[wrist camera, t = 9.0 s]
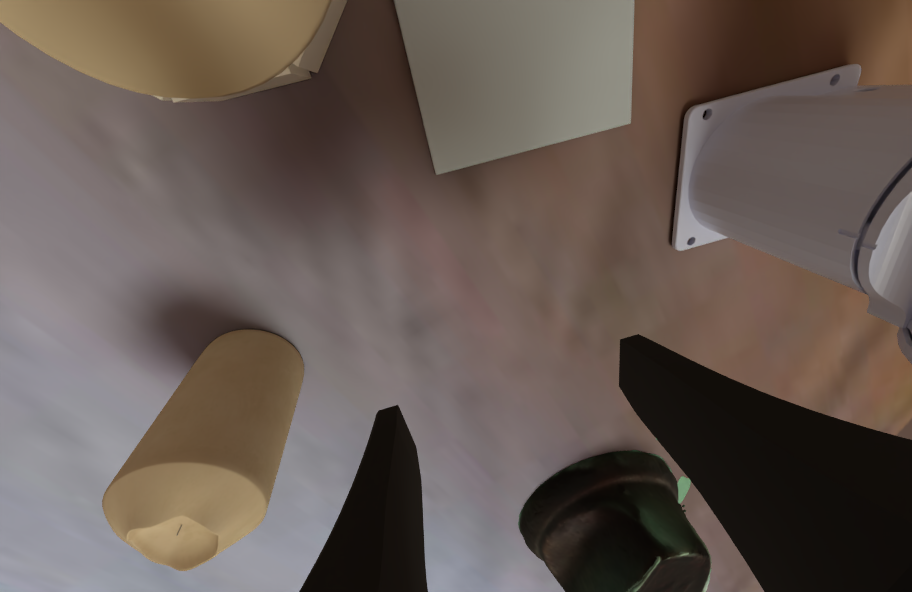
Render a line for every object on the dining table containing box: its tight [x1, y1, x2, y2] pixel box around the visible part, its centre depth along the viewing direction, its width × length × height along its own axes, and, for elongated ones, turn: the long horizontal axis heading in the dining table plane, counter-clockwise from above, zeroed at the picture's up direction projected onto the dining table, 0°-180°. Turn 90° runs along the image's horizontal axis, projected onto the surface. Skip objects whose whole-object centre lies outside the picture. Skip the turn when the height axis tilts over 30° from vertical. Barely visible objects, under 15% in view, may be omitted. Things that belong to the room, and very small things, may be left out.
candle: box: [102, 329, 304, 571], centre depth 17 cm, size 6×6×10 cm
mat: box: [394, 0, 634, 175], centre depth 15 cm, size 10×10×1 cm
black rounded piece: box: [518, 439, 711, 592], centre depth 32 cm, size 20×20×9 cm
